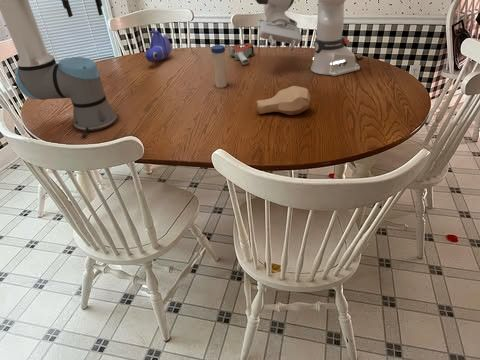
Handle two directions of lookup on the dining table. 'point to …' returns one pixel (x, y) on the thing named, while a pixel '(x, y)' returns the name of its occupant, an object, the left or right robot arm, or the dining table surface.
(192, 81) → the dining table surface
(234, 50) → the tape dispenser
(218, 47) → the lid
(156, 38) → the toy
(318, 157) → the dining table surface
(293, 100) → the squash
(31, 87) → the left robot arm
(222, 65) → the jar
